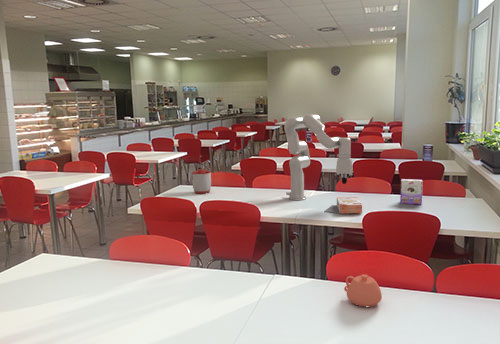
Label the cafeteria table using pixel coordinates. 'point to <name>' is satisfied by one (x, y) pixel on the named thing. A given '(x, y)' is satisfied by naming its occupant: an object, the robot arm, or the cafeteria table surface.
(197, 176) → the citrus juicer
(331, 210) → the mat
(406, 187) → the candy box
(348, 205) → the cracker box
